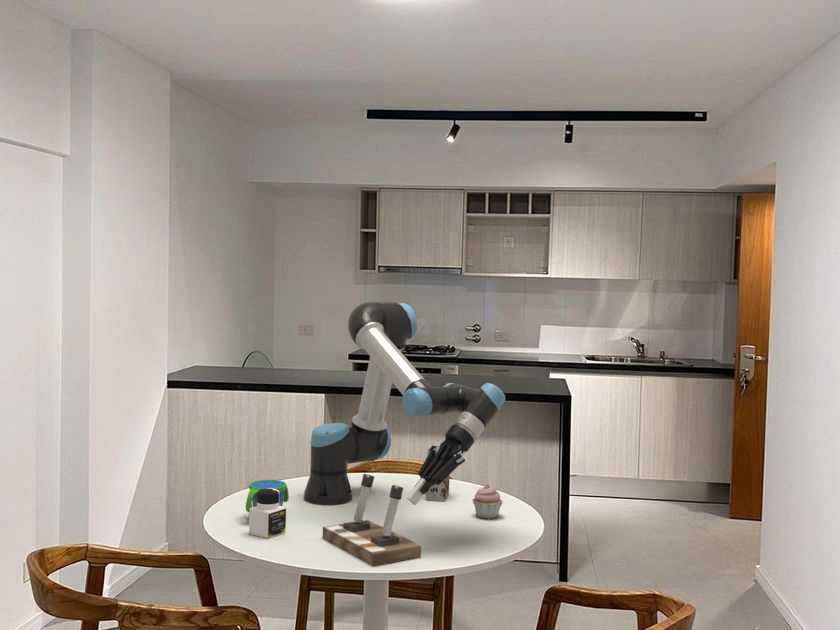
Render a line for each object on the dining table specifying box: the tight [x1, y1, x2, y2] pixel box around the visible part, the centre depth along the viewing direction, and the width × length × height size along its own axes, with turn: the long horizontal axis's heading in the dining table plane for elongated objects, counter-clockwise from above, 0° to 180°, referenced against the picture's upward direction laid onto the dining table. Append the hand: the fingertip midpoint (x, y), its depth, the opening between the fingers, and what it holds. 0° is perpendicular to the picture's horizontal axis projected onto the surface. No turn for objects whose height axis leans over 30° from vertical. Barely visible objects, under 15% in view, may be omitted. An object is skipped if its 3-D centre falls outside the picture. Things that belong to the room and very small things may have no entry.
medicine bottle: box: [248, 488, 287, 539], centre depth 231 cm, size 7×7×12 cm
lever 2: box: [382, 484, 404, 536], centre depth 217 cm, size 3×3×12 cm
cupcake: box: [471, 483, 504, 520], centre depth 255 cm, size 9×9×10 cm
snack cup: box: [245, 479, 290, 514], centre depth 245 cm, size 16×10×10 cm
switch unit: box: [322, 519, 422, 567], centre depth 222 cm, size 26×14×4 cm, turn 35°
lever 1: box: [353, 473, 375, 522], centre depth 228 cm, size 3×3×12 cm
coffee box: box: [425, 445, 451, 502], centre depth 275 cm, size 9×6×16 cm
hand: (411, 501), depth 220 cm, fingers closed
